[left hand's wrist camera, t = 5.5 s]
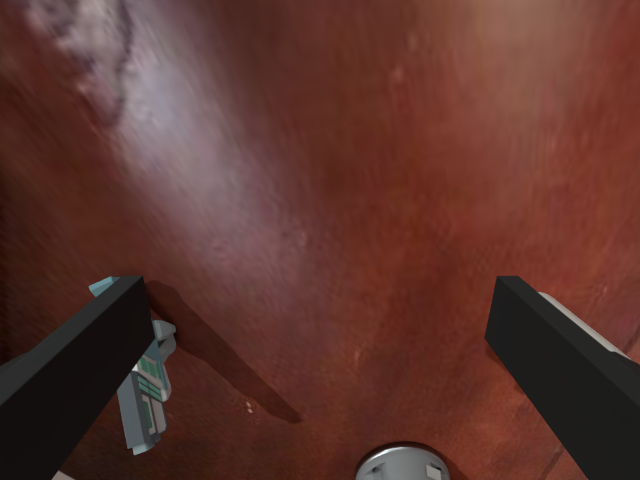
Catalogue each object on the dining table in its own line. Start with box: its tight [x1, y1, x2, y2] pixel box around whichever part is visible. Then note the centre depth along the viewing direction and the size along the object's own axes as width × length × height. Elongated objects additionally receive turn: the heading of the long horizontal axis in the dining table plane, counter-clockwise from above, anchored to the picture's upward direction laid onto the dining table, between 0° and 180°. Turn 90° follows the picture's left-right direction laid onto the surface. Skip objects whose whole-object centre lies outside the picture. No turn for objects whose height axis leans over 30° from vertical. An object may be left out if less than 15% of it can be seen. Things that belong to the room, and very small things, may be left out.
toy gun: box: [89, 277, 176, 455], centre depth 41 cm, size 4×19×10 cm
